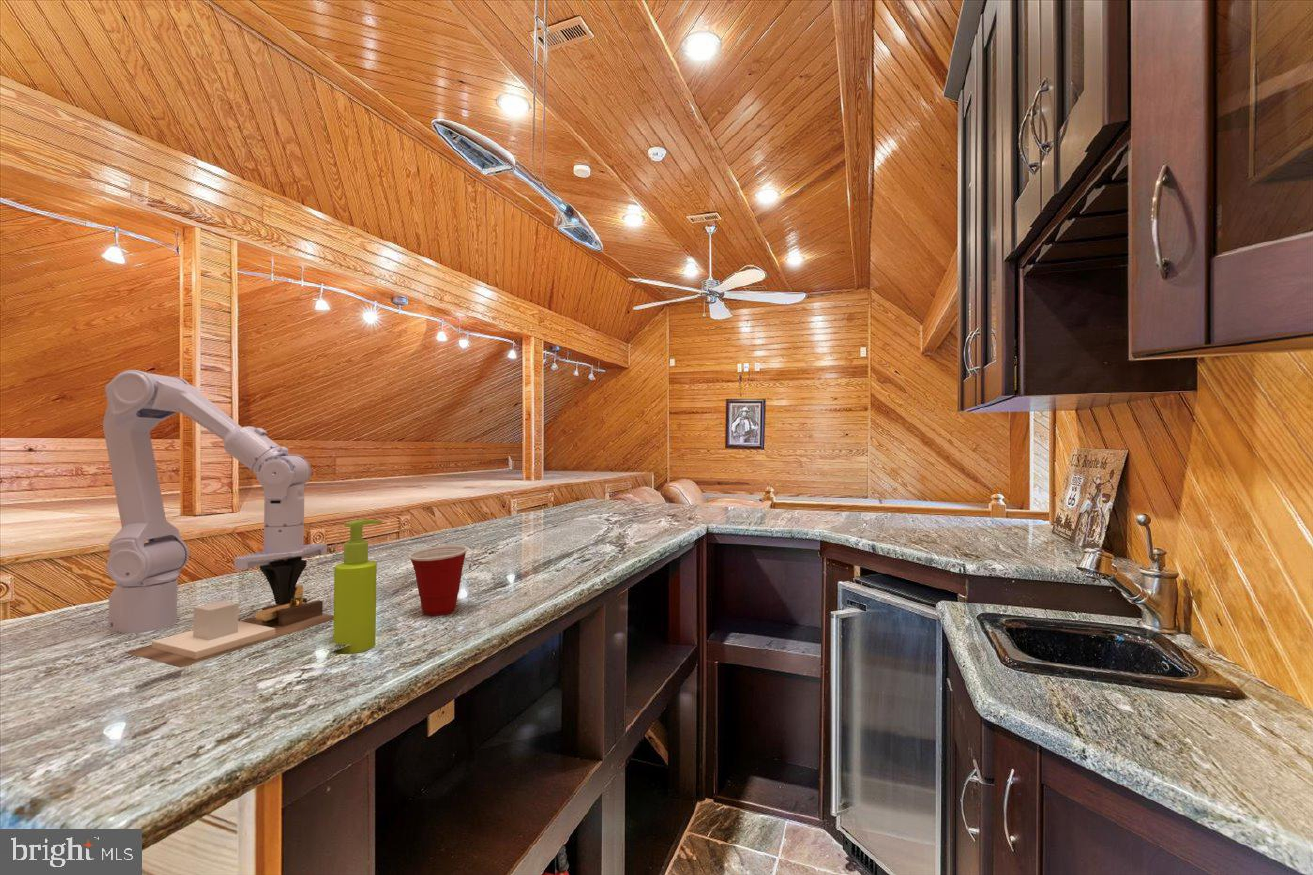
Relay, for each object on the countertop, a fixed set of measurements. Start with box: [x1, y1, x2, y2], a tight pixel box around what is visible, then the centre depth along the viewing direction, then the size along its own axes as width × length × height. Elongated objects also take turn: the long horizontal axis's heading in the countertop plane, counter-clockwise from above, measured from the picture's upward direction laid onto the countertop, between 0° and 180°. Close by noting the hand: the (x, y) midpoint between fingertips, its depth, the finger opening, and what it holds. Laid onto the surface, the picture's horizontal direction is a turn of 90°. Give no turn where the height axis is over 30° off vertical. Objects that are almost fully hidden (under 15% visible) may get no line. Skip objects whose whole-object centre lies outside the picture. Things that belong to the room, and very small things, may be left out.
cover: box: [151, 600, 275, 659], centre depth 84 cm, size 11×11×6 cm
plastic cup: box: [407, 544, 469, 617], centre depth 105 cm, size 11×11×12 cm
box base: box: [124, 597, 334, 669], centre depth 88 cm, size 14×24×4 cm, turn 158°
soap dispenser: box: [332, 518, 383, 655], centre depth 87 cm, size 6×7×20 cm
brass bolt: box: [255, 584, 306, 621], centre depth 94 cm, size 2×7×4 cm, turn 157°
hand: (282, 603), depth 94 cm, fingers closed
